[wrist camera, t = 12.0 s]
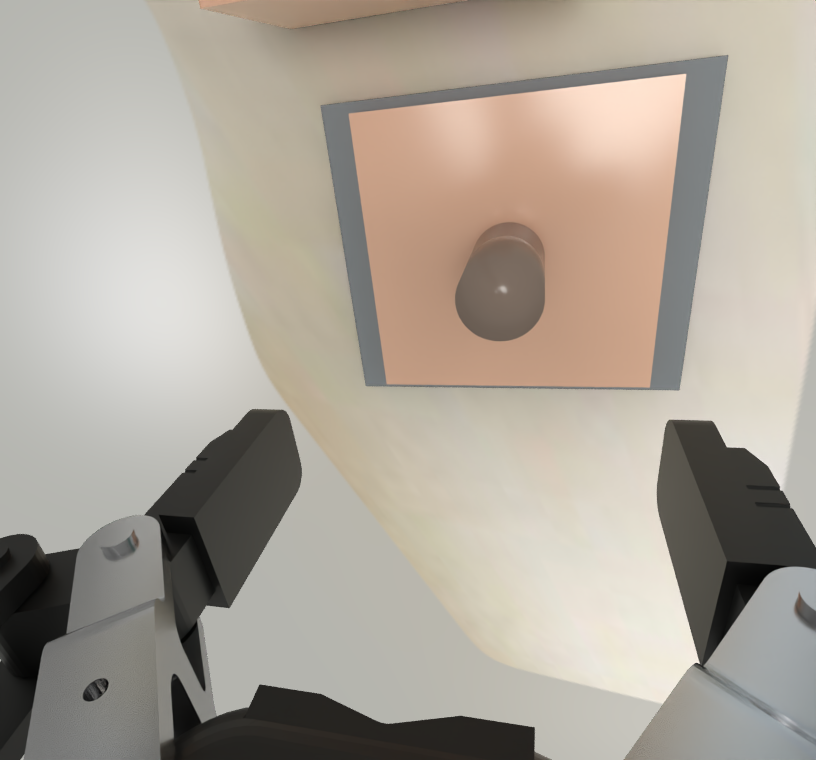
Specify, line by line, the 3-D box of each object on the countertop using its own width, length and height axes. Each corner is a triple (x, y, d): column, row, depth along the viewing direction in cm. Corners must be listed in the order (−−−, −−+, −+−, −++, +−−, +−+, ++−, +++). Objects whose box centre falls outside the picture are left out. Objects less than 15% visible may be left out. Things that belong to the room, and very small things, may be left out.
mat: (368, 381, 30) (365, 385, 30) (325, 105, 24) (320, 105, 23) (676, 384, 26) (679, 390, 26) (723, 56, 20) (728, 55, 19)
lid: (390, 377, 29) (355, 443, 24) (354, 112, 23) (296, 120, 18) (647, 379, 26) (673, 456, 21) (681, 74, 20) (732, 69, 15)
